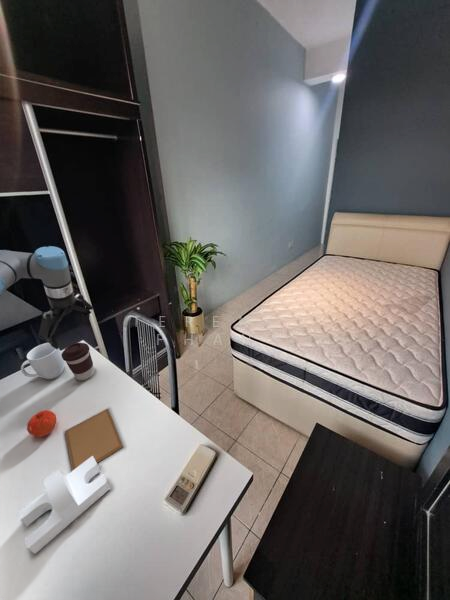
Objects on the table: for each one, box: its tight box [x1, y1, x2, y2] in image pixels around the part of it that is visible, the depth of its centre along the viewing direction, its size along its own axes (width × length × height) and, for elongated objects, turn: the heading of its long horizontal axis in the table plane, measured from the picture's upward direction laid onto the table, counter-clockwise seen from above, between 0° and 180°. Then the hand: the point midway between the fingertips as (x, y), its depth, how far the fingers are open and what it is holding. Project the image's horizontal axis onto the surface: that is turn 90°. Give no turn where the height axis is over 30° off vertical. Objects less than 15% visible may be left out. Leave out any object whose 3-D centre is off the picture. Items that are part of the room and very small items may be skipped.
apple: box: [26, 410, 58, 438], centre depth 82 cm, size 8×8×8 cm
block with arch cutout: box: [18, 456, 111, 555], centre depth 62 cm, size 18×10×11 cm, turn 136°
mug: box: [20, 342, 65, 380], centre depth 104 cm, size 15×11×13 cm
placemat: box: [64, 408, 124, 471], centre depth 80 cm, size 18×14×1 cm
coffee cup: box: [61, 342, 95, 381], centre depth 103 cm, size 10×10×15 cm
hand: (71, 335), depth 94 cm, fingers open, 13 cm apart
